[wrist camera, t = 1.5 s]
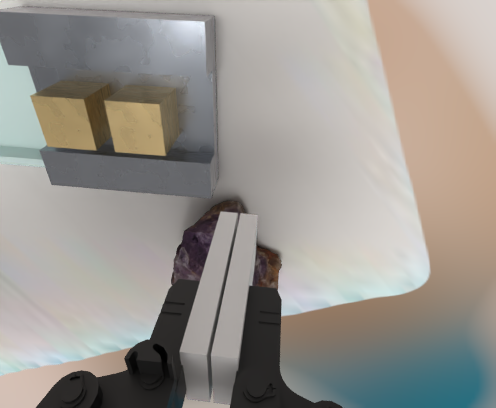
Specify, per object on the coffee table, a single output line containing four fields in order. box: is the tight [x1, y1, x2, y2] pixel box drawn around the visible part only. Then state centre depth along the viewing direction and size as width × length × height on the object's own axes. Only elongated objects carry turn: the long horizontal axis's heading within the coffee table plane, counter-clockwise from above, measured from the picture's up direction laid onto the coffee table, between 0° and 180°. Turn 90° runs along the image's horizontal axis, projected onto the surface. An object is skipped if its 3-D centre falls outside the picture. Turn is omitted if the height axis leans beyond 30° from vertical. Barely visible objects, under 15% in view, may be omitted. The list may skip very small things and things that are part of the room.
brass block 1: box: [30, 81, 112, 151], centre depth 27 cm, size 4×4×4 cm
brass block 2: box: [104, 85, 180, 156], centre depth 26 cm, size 4×4×4 cm
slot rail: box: [0, 6, 218, 198], centre depth 28 cm, size 15×14×4 cm
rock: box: [171, 201, 282, 290], centre depth 34 cm, size 12×9×10 cm
